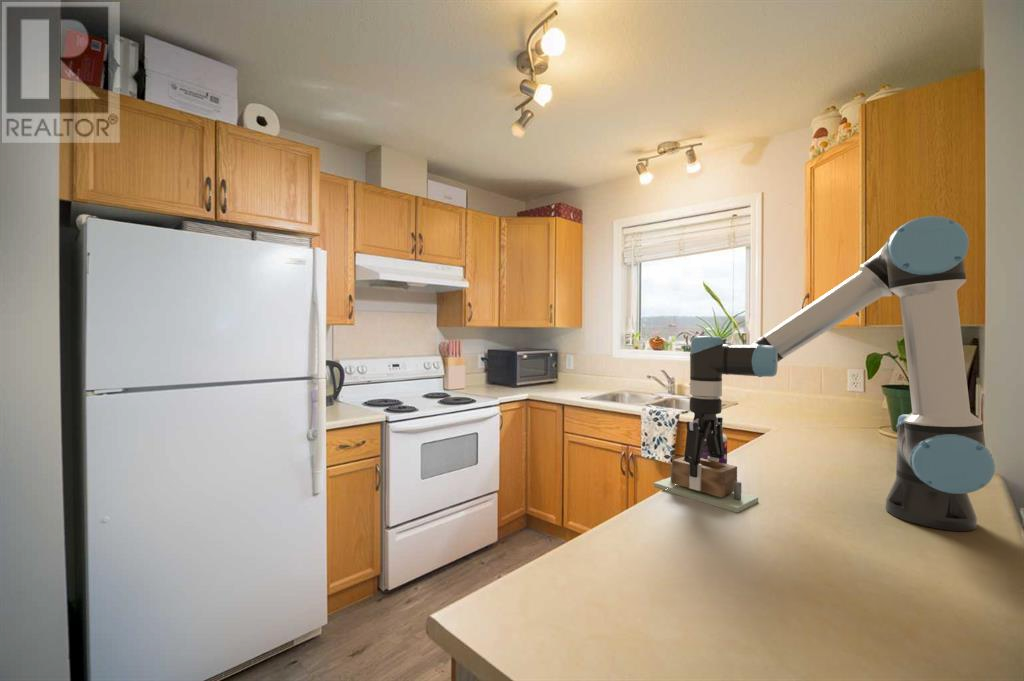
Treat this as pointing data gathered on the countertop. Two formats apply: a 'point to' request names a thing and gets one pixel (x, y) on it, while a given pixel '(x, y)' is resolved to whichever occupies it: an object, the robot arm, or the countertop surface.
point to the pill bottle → (722, 460)
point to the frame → (707, 476)
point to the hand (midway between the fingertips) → (704, 485)
